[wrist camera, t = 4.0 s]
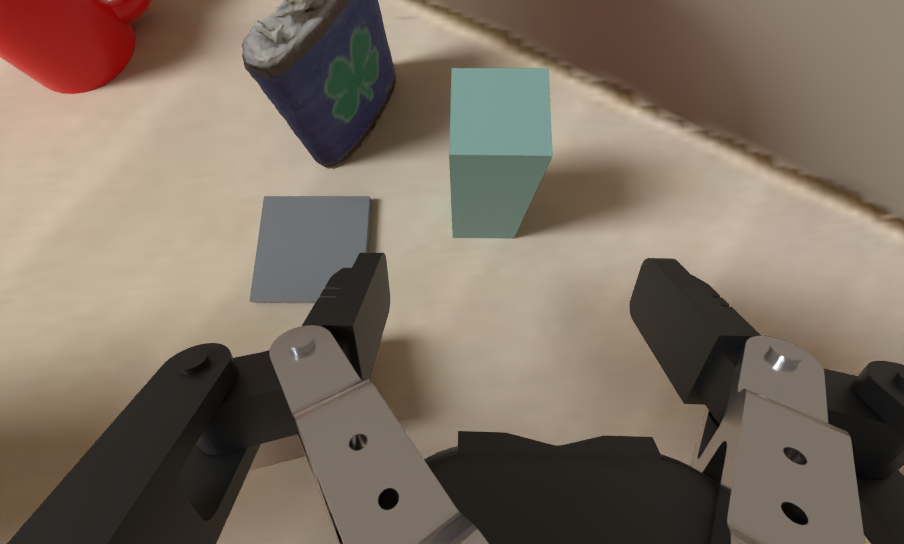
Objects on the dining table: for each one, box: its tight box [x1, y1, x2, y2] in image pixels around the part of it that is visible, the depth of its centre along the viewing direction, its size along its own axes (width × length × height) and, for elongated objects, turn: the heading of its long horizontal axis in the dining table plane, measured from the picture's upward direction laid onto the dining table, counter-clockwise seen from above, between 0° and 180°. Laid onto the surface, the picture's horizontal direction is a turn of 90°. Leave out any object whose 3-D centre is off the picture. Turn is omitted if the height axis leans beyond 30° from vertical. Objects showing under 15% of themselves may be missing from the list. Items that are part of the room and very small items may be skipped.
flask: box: [242, 0, 396, 169], centre depth 21 cm, size 9×3×11 cm, turn 151°
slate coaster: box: [250, 196, 372, 303], centre depth 24 cm, size 7×7×1 cm
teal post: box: [449, 68, 553, 238], centre depth 19 cm, size 4×4×10 cm
